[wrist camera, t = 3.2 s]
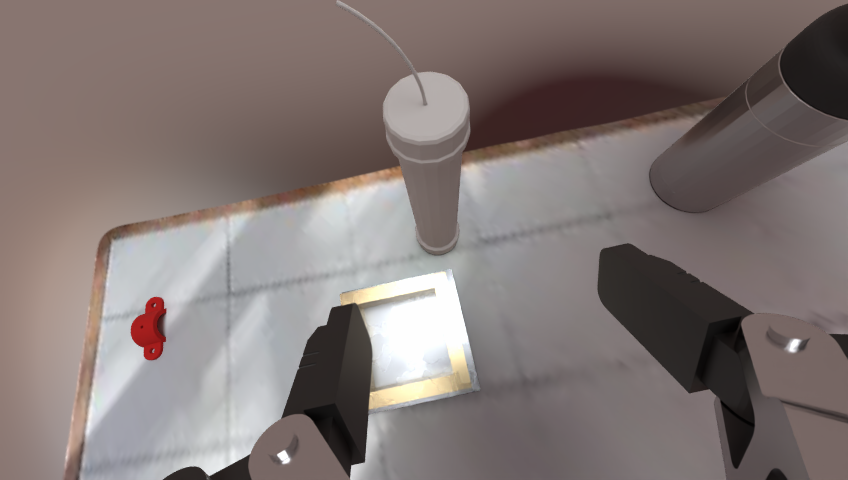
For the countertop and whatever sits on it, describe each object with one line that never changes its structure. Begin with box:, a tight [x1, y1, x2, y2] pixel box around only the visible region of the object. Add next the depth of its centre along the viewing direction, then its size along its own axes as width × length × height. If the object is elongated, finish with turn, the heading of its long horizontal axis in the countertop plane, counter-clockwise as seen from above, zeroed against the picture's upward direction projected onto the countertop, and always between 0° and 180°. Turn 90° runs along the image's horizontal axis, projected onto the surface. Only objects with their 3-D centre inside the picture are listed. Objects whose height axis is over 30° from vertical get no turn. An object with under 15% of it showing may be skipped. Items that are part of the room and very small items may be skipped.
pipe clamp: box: [131, 297, 166, 360], centre depth 39 cm, size 8×3×2 cm, turn 14°
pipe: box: [336, 0, 470, 255], centre depth 27 cm, size 6×6×30 cm
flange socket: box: [340, 269, 480, 414], centre depth 35 cm, size 14×14×5 cm
